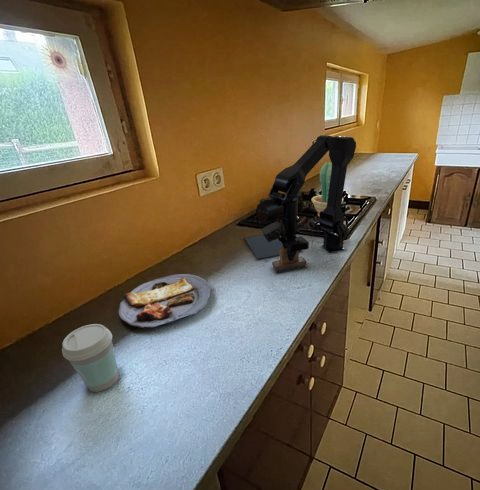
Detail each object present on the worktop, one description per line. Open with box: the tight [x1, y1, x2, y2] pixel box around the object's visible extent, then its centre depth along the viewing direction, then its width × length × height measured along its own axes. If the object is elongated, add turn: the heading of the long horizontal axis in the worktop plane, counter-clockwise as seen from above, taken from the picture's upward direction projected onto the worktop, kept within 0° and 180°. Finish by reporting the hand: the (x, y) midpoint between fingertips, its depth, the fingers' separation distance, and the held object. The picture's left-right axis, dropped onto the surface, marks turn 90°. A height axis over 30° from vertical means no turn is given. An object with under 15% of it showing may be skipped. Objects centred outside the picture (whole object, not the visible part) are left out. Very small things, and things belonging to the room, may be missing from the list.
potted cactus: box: [311, 161, 345, 218], centre depth 142 cm, size 15×15×25 cm
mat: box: [244, 234, 302, 261], centre depth 119 cm, size 17×20×1 cm
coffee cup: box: [61, 323, 120, 393], centre depth 60 cm, size 8×8×12 cm
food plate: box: [117, 273, 211, 329], centre depth 86 cm, size 25×23×4 cm
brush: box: [271, 248, 308, 274], centre depth 101 cm, size 11×4×7 cm, turn 108°
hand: (289, 258), depth 101 cm, fingers closed on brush, 2 cm apart
